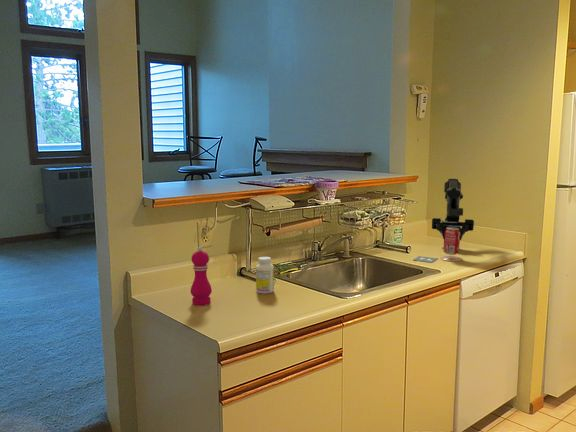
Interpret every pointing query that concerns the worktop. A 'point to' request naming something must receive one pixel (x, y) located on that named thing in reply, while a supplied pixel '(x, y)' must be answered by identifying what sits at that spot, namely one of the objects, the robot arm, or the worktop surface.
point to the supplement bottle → (264, 276)
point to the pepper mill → (200, 279)
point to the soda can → (451, 241)
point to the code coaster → (425, 259)
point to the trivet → (451, 258)
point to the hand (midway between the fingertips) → (452, 239)
